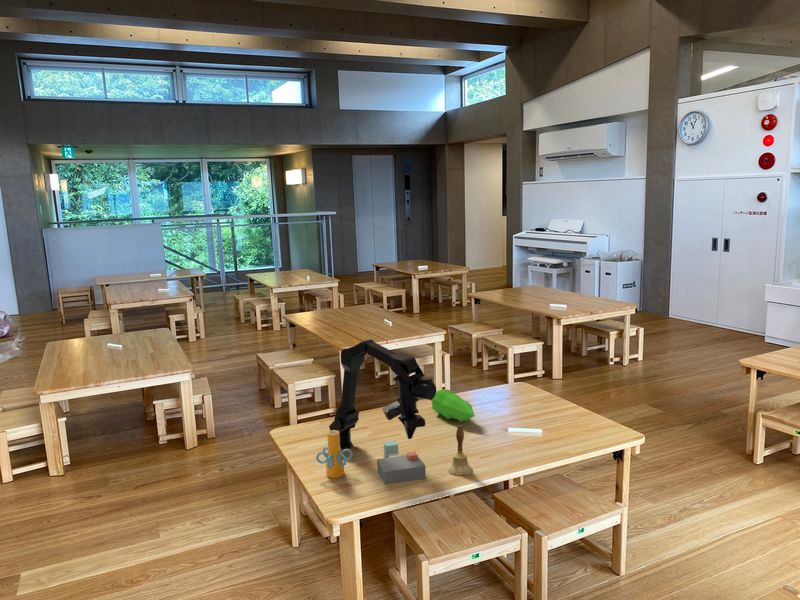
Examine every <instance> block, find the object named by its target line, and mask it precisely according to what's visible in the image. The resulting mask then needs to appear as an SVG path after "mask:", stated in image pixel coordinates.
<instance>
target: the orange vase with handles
mask: <svg viewBox="0 0 800 600" xmlns="http://www.w3.org/2000/svg"><path fill="white" fill-rule="evenodd" d="M326 433H327V434H326V436H327V437H326V438H327V446H324V447H323V449H322V451H320V452H318V453H317V454H316V457H315V459H316V461H317V463H318V464H321V465H323V464H325V472H326V473H325V474H326V476H327V477H328V478H331V479H338V478H341V477H343V476H344V474H345V466H346V465H347V462H349V461H350V460H351V459H352V458H353V451H351V449H349V448H343V449H342V448H341V447H340V438H339V431H337V430H331V431H330V430H328V431H327V432H326ZM326 451H327V452H326ZM345 452H348V453H349V457H347V458H346V456H345V455H344V453H345ZM320 455H323V456H324V458H325V460H320V459H319V457H320Z"/></svg>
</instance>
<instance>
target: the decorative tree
mask: <svg viewBox="0 0 800 600" xmlns="http://www.w3.org/2000/svg"><path fill="white" fill-rule="evenodd" d="M430 401H431V405H432V406H431V408H432V410H433V411H434V412H435V413H437V414H439V415H441V416H442V417H445V418H446V419H447V420H448V419H449V420H453V419H454V420H456V419H457V420H458V421H459V422H465V421H468V420H469V419H470V420H471V419H472V418H474V417H476V416H475V413H474V409H473V406H472V405H471V404H470V403H469V401H467V400H464V399H463V398H462V397H460V396H459V395H458V394H457V393H454V392H453V391H452V390H450V391H449V390H448V389H447V388H444V389H439V390H436V394H435V397H434V398H433V399H432V400H430Z"/></svg>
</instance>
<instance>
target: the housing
mask: <svg viewBox="0 0 800 600" xmlns="http://www.w3.org/2000/svg"><path fill="white" fill-rule="evenodd" d="M376 467H377V469H376V470H377V474H378V476H379V478H380V479H381V481H382V484H383V485H384V486H387V485H395V484H401V483H407V482H414V481H420V480H421V481H422V480H426V479H427V477H426V476H427V475H426V474H427V473H426V469H427V468H426V464H425V463H424V462H423V461H422V459H421V457H420V456H419V455H418V454H417V460H411V461H409V460H408V459H407V454H405V455H404V454H403V455H399V456H396V457H389V458H384V457H382V458H377V459H376Z"/></svg>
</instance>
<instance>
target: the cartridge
mask: <svg viewBox="0 0 800 600" xmlns="http://www.w3.org/2000/svg"><path fill="white" fill-rule="evenodd" d="M396 456H400V455H399V444H398V442H397V441H396V440H390V441H384V442H383V458H389V457H396Z"/></svg>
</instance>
